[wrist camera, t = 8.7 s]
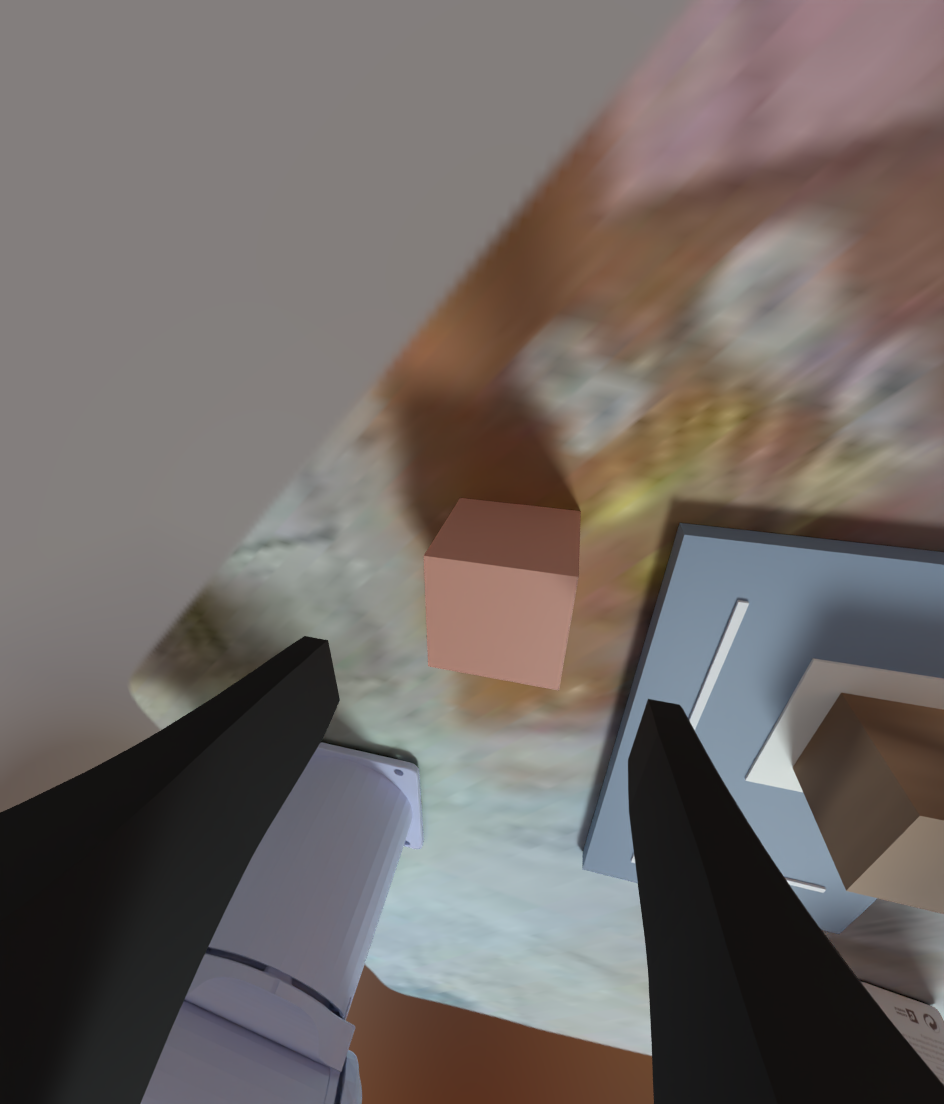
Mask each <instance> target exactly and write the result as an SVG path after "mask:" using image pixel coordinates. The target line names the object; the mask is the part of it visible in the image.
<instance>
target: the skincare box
mask: <svg viewBox="0 0 944 1104" xmlns="http://www.w3.org/2000/svg"><path fill="white" fill-rule="evenodd" d="M861 983H862V984H863V986H864V987H865V988H866V989H867V991H868V992H869V993H870V995H871V996H872V997H873V998H874V1000H875V1001H876V1002H877V1004H878V1005H879V1006H880V1008H881V1009H882V1010H883V1011H884V1013H885V1014H886V1015H887V1017H888V1018H889V1019H890V1020H891V1022H892V1023H893V1024H894V1025H895V1027H896V1028H897V1029H898V1030H899V1032H900V1033H901V1034H902V1035H903V1036H904V1038H905V1039H906V1040H907V1041H908V1042H909V1044H910V1045H911V1046H912V1047H913V1048H914V1050H915V1051H916V1052H917V1053H918V1054H919V1056H920V1057H921V1058H922V1059H923V1060H924V1062H925V1063H926V1064H927V1065H928V1067H929V1068H930V1069H931V1070H932V1071H933V1073H934V1074H935V1075H936V1076H937V1077H938V1079H939V1080H940V1081H941V1082H942V1083H943V1085H944V1021H943V1019H942V1017H941V1015H940V1013H939V1011H938V1010H937V1009H936V1008H934V1007H932V1006H930V1005H927V1004H924V1003H922V1002H919V1001H916V1000H913V999H910V998H907V997H904V996H901V995H898V994H896V993H893V992H890V991H887V990H884V989H881V988H879V987H876V986H873V985H870V984H868V983H865V982H861Z"/></svg>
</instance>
